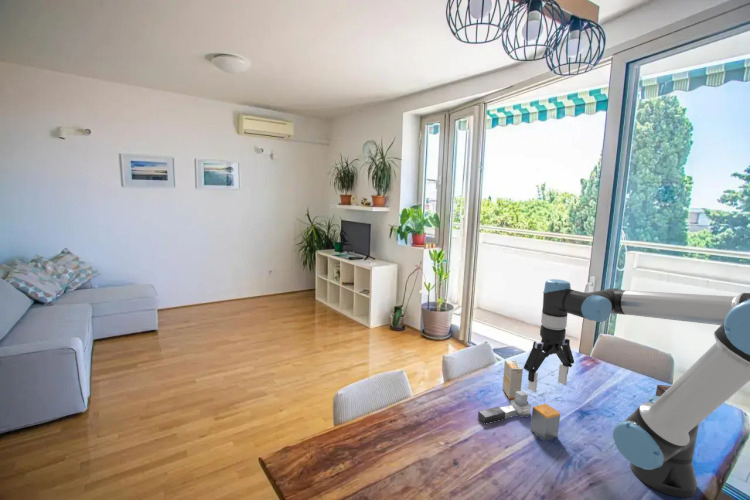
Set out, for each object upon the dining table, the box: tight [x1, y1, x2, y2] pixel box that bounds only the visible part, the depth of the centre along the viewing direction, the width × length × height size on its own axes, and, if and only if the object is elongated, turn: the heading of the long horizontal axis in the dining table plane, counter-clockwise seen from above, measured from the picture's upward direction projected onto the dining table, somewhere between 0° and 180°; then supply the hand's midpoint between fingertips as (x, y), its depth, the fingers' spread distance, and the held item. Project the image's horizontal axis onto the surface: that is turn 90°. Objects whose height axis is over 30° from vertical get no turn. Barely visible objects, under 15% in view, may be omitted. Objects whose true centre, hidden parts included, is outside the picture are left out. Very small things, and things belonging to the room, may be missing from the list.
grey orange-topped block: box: [530, 403, 561, 442], centre depth 123 cm, size 6×6×9 cm
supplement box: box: [502, 359, 524, 400], centre depth 148 cm, size 8×5×13 cm, turn 179°
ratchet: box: [477, 390, 531, 425], centre depth 133 cm, size 22×7×8 cm, turn 113°
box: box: [655, 384, 672, 396], centre depth 144 cm, size 6×6×7 cm
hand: (547, 386), depth 123 cm, fingers open, 13 cm apart
